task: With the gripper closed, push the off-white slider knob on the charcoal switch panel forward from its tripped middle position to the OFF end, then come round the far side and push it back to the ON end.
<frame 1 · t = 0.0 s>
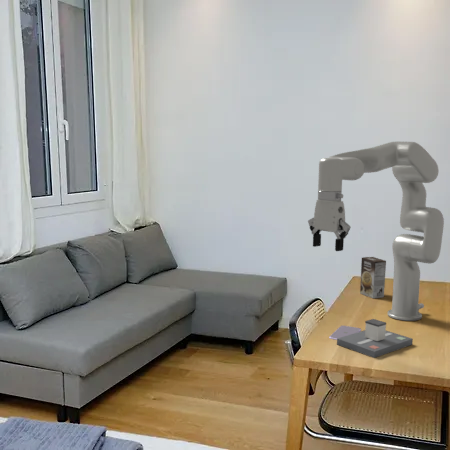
hand: (327, 248, 194), 31 cm above the table, tool pointing down, fingers open, 9 cm apart
switch panel: (374, 344, 195), on the table
slider knob: (375, 329, 194), point 5 cm above the table, slide at 0.0 cm
mobile phone: (345, 335, 206), on the table
coffee box: (371, 295, 257), on the table
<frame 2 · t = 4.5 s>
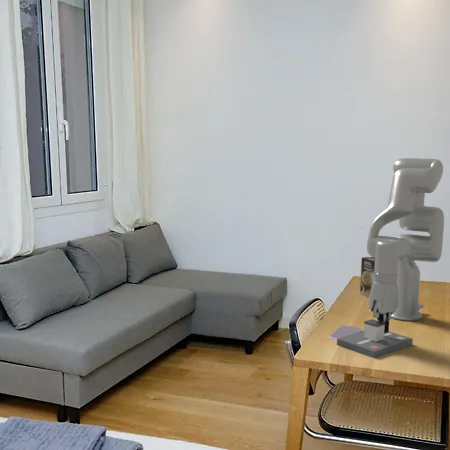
hand: (383, 331, 197), 3 cm above the table, tool pointing down, fingers closed
slider knob: (374, 330, 194), point 5 cm above the table, slide at 0.7 cm, touching gripper
everything else where it was.
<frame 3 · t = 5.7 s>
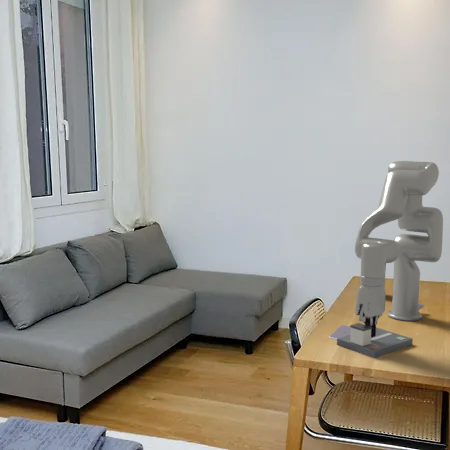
hand: (370, 335, 193), 3 cm above the table, tool pointing down, fingers closed
slider knob: (360, 334, 190), point 5 cm above the table, slide at 7.5 cm, touching gripper
everything else where it was.
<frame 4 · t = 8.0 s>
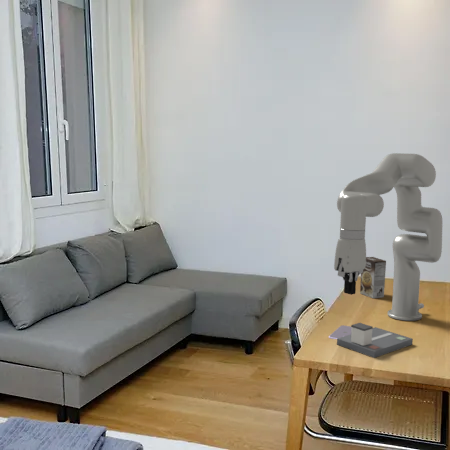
hand: (349, 293, 184), 19 cm above the table, tool pointing down, fingers closed
slider knob: (361, 334, 190), point 5 cm above the table, slide at 7.0 cm
everything else where it was.
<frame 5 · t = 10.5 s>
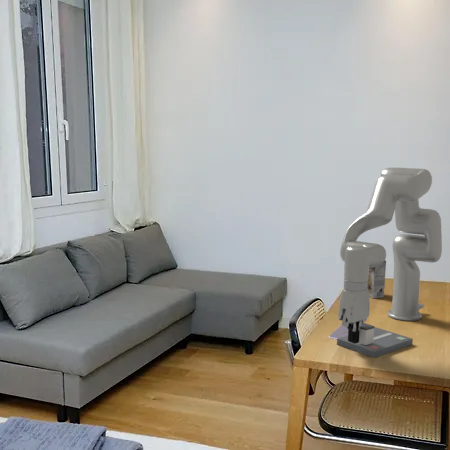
hand: (353, 341, 188), 3 cm above the table, tool pointing down, fingers closed
slider knob: (363, 333, 190), point 5 cm above the table, slide at 6.1 cm, touching gripper
everything else where it was.
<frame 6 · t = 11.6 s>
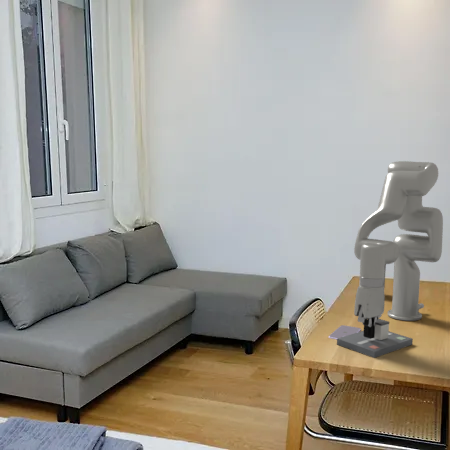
hand: (368, 337, 193), 3 cm above the table, tool pointing down, fingers closed
slider knob: (378, 329, 195), point 5 cm above the table, slide at -1.6 cm, touching gripper
everything else where it was.
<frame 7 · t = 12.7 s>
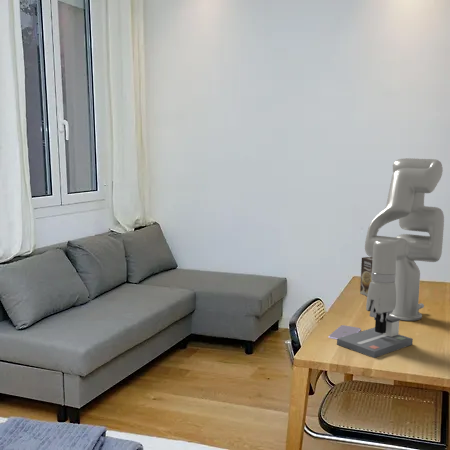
hand: (380, 332, 196), 4 cm above the table, tool pointing down, fingers closed
slider knob: (388, 325, 199), point 5 cm above the table, slide at -7.2 cm, touching gripper
everything else where it was.
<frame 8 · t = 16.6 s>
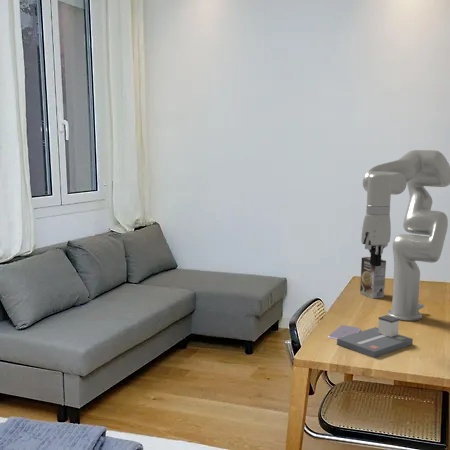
hand: (375, 265, 198), 25 cm above the table, tool pointing down, fingers closed
slider knob: (388, 325, 199), point 5 cm above the table, slide at -7.0 cm
everything else where it was.
at the end: slider knob slide at -7.0 cm; mobile phone moved 0.8 cm from its start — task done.
